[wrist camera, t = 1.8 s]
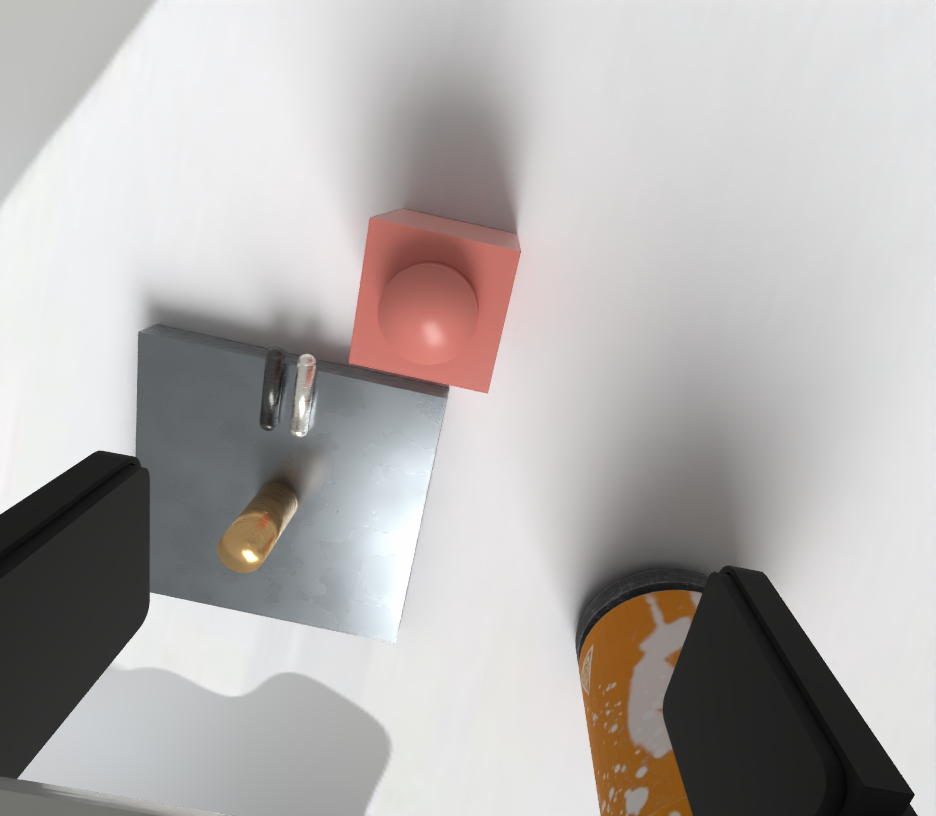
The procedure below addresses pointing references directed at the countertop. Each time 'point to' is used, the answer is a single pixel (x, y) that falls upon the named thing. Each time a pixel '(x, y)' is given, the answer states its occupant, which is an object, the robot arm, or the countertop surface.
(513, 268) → the pink cube with dome
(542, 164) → the countertop surface
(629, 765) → the canister
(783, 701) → the robot arm
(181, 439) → the grey plate with peg
